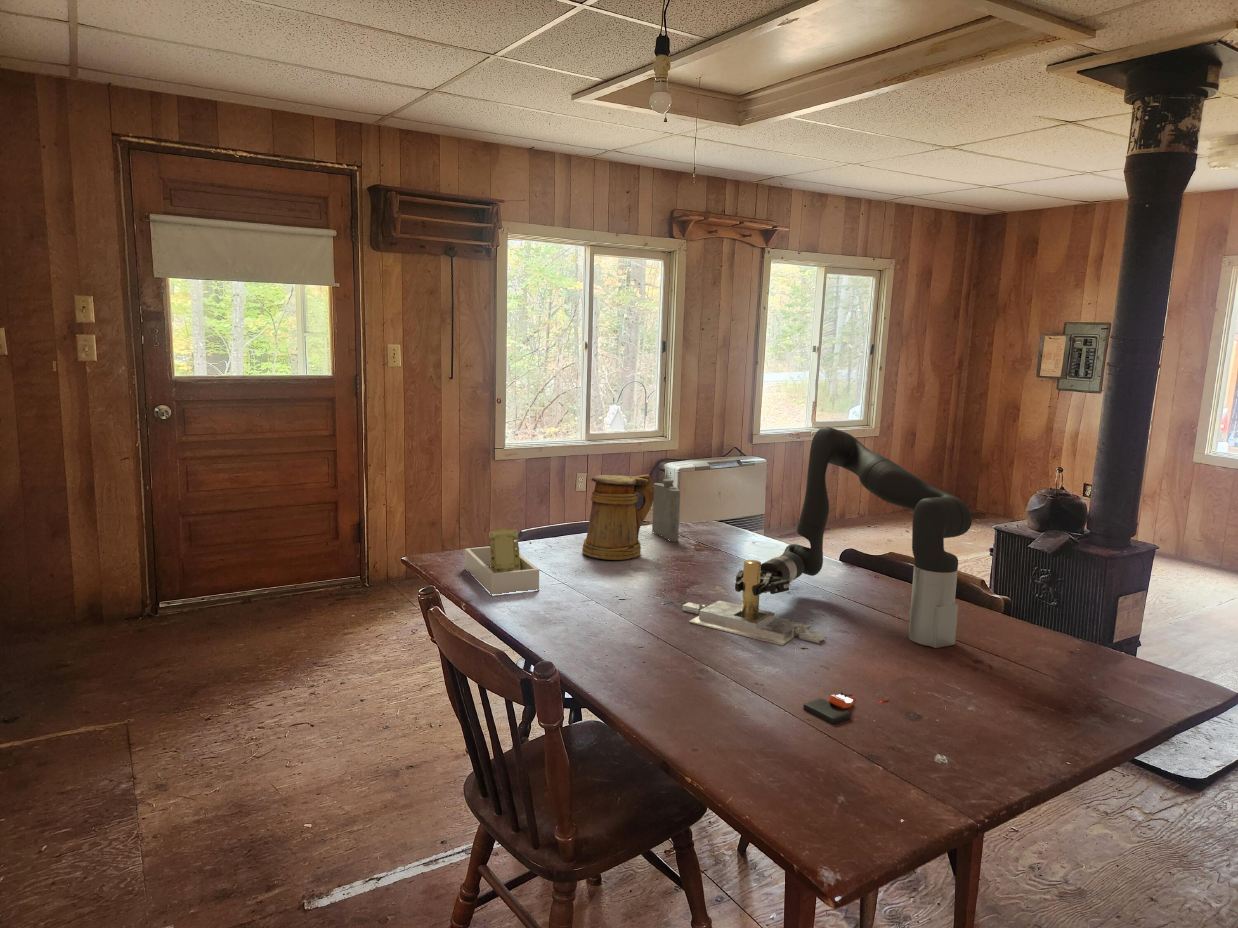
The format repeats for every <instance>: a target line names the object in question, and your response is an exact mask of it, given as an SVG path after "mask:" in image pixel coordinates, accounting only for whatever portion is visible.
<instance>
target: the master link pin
mask: <svg viewBox="0 0 1238 928" xmlns="http://www.w3.org/2000/svg"><path fill="white" fill-rule="evenodd" d="M761 564H762V562H761V561H759V560H755V559H747V560H743V569H742V570H743V590H742V591H741V592H742V594H741V595H742V596H741V605H742V614H741V617H743V618H747V619H751V620H755V621H756V620H758V614H759V609H760V594H759V595H757V596H755V595H753V588H754V586H756V585H758V584H760V572H761Z"/></svg>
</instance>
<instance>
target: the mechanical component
mask: <svg viewBox="0 0 1238 928" xmlns="http://www.w3.org/2000/svg"><path fill="white" fill-rule="evenodd" d="M488 539H489V547H490V554H491V567H490V569H491V570H492V571H493V572H494V573H498V572H508V571H519V570H521V569H520V555H521V554H520V547H519V533H518V529H515V528H514V529H507V528H500V529H498V530H490V531H489V532H488ZM515 540H516V541H515ZM492 542H493V543H492ZM516 557H517V558H516ZM516 565H517V567H516Z"/></svg>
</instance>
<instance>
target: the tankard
mask: <svg viewBox="0 0 1238 928" xmlns="http://www.w3.org/2000/svg"><path fill="white" fill-rule="evenodd" d="M650 476H651V475H649V474H648V473H647V474H642V475H641V474H640V475H637V476H635V475H634V476H633V475H620V474H619V475H618V474H617V475H614V474H613V475H611V474H600V475H596V476H593V477H592V478H591V481H592V482H594V483H595V486H594V489H593V490H592V492H591V495H590V501H591V507H590V508H591V509H590V515H589V521H588V527H587V531H586V532H587V533H586V538H585V539H584V540H583V544H582V548H581V549H582V553H583V554H584V555H585V556H588V557H589V558H595V559H600V560H601V559H602V560H612V561H622V560H623V561H624V560H631V558H632V559H635V558H637V557H639V556H640V555H641V550H642V547H641V542H640V541H639V536H640V535H639V534H640V529H641V525H642V524H643V522H644V520H645V518H646V517H647V515H648V514H649V512H650V511H651V508H652V507H653V499H654V483H653V481H652V479H651V477H650ZM637 493H640V494H641V496H642V498H643V499H642V502H641V503H642V504H641V505H640V506H639V507H636V503H638V500H639V496H638V494H637Z"/></svg>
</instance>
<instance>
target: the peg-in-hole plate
mask: <svg viewBox="0 0 1238 928" xmlns="http://www.w3.org/2000/svg"><path fill="white" fill-rule="evenodd" d="M682 612H687V613H692V614H696V615H698V616H695V617H694V618H692V619H689V622H688V623H691V624H694V625H698V626H701V627H702V626H703V627H706V628H710V629H714V630H719V631H722V632H726V633H731V634H735V635H739V636H743V637H747V638H751V639H755V640H758V641H762V642H763V641H764V642H767V643H770V644H775V645H779V646H782V647H783V646H784V645H785V644H787V643H788V642H789V641H791V640H793V639H794V638H797V639H800V640H803V641H808V642H812V643H814V644H815V643H816V644H819V643H820V642H822V641H823V640H824V636H825V634H824V633H823V632H818V631H814V630H811V629H809V628H810V627H811V624H809V623H805V622H800V621H798V620H797V621H795V620H792V619H787V618H782V617H779V616H775V612H772V611H769V610H763V609H760V608H759V614H758V620H756V621H755V620H751V619H747V618H743V617H741V614H742V604H739V603H738V604H737V603H733V602H728V601H725V600H724V601H723V600H717V601H715V602H713V603H710V604H708V603H701V604H698V603H694V602H686V603H684V604H683V605H682Z"/></svg>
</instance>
